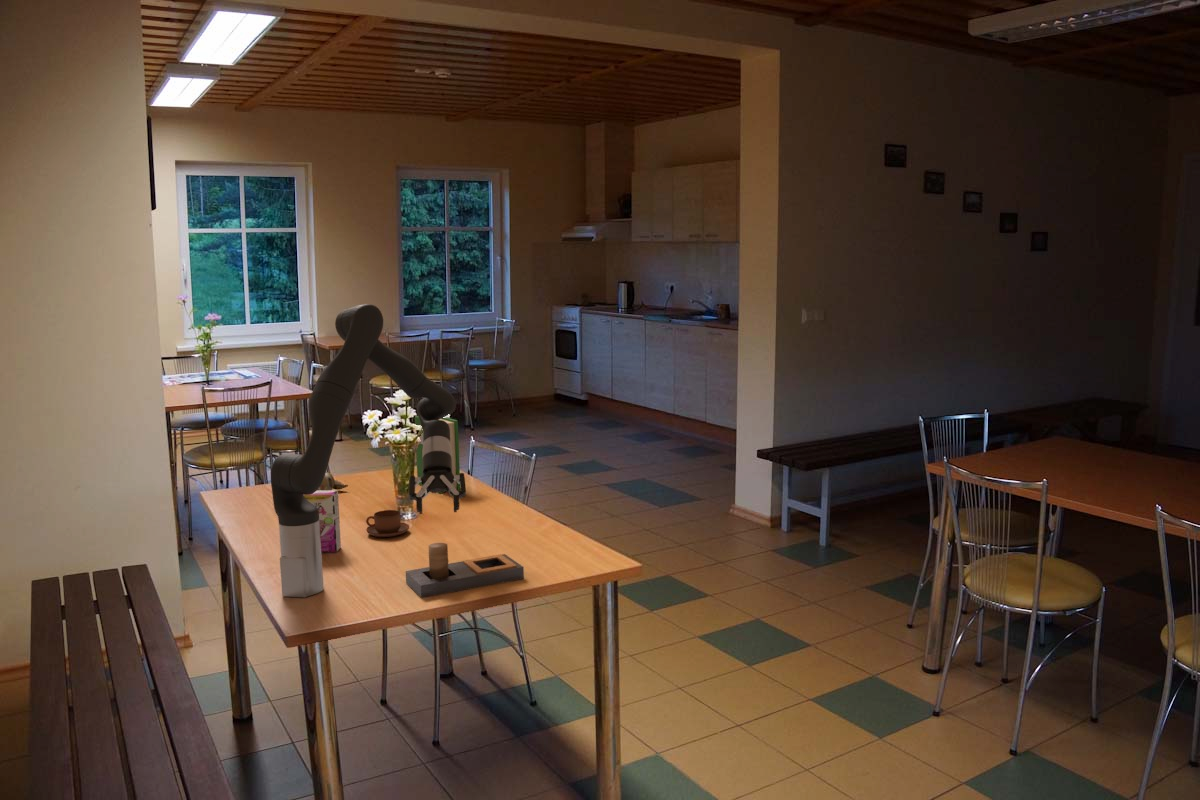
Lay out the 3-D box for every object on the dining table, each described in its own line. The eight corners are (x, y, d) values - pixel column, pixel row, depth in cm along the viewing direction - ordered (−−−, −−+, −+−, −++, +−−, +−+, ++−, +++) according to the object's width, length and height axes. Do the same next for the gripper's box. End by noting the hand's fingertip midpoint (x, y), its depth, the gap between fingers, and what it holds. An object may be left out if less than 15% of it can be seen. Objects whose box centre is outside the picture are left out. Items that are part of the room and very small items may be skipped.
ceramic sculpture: (316, 462, 335) (349, 468, 328) (317, 486, 336) (349, 493, 329) (293, 468, 326) (326, 475, 318) (294, 493, 327) (326, 500, 320)
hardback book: (460, 490, 327) (457, 420, 324) (440, 493, 323) (437, 423, 319) (437, 481, 341) (434, 414, 338) (417, 484, 337) (414, 416, 334)
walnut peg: (445, 589, 231) (443, 548, 229) (427, 588, 232) (425, 547, 230) (451, 582, 235) (450, 543, 234) (434, 581, 236) (432, 542, 235)
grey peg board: (421, 597, 225) (420, 583, 225) (406, 582, 236) (405, 569, 235) (523, 578, 237) (523, 565, 237) (505, 565, 248) (504, 552, 247)
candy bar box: (295, 554, 260) (291, 494, 258) (300, 548, 265) (296, 490, 263) (337, 553, 261) (333, 493, 258) (341, 547, 266) (338, 489, 263)
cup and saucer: (367, 542, 271) (366, 520, 270) (365, 530, 282) (364, 509, 281) (411, 538, 274) (410, 516, 273) (407, 526, 285) (406, 506, 284)
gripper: (408, 450, 248) (408, 505, 239) (464, 448, 250) (466, 502, 241) (410, 466, 254) (410, 520, 245) (465, 463, 256) (467, 517, 247)
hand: (438, 511), depth 243 cm, fingers open, 8 cm apart
